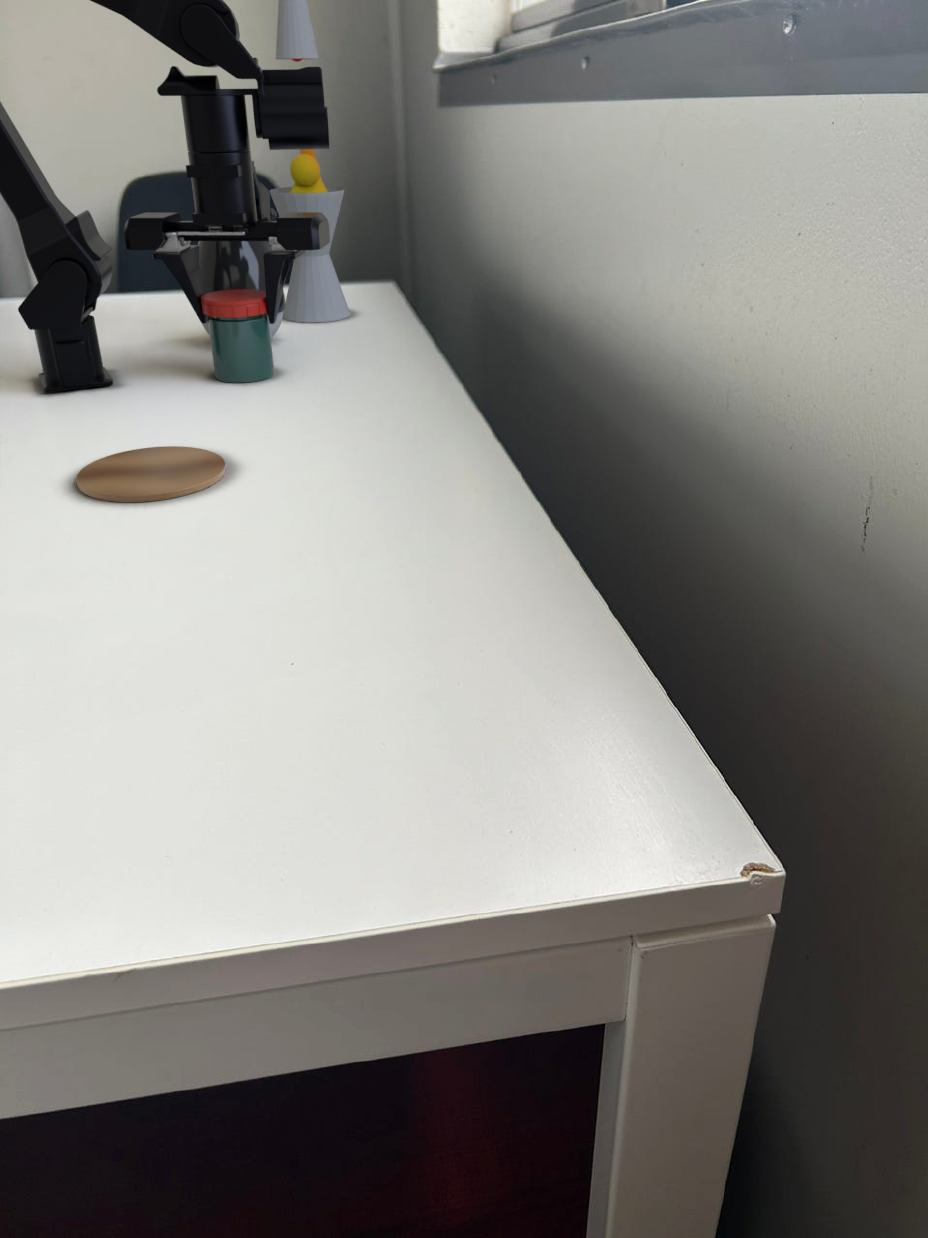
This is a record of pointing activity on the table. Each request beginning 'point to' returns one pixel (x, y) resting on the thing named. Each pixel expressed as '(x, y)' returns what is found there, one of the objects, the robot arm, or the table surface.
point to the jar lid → (234, 303)
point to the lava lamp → (308, 193)
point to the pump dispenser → (236, 268)
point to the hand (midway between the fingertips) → (239, 322)
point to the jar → (241, 348)
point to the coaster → (151, 474)
